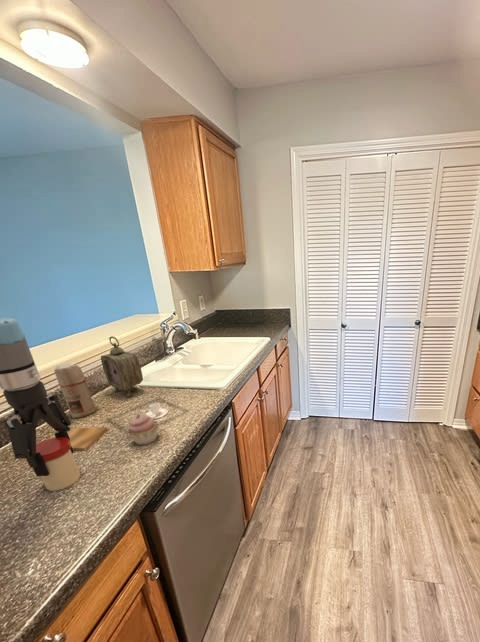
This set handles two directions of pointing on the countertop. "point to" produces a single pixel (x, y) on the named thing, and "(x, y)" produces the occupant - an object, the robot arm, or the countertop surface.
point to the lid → (53, 448)
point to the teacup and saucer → (156, 411)
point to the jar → (61, 472)
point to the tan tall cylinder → (75, 390)
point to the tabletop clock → (121, 368)
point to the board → (83, 437)
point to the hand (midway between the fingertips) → (56, 463)
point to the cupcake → (143, 429)
